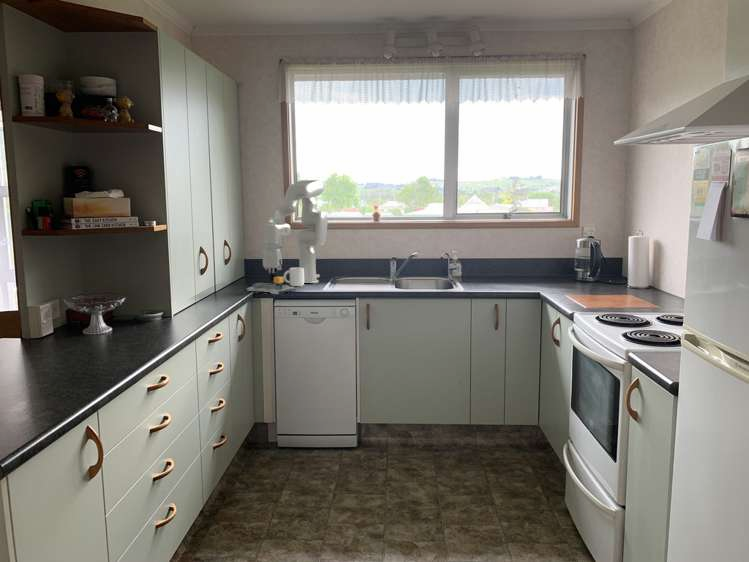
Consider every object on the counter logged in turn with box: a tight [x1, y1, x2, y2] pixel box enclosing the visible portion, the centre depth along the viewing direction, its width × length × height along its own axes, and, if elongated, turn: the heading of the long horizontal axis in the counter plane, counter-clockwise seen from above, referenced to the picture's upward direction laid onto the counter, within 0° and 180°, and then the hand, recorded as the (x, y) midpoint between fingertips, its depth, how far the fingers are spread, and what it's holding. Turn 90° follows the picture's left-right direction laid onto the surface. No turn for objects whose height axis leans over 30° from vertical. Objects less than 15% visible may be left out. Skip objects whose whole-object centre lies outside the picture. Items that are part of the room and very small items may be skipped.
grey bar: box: [279, 287, 297, 295], centre depth 324 cm, size 13×1×1 cm, turn 151°
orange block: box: [273, 276, 285, 286], centre depth 327 cm, size 4×4×6 cm
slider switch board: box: [246, 282, 295, 295], centre depth 330 cm, size 14×21×4 cm, turn 61°
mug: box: [283, 266, 305, 287], centre depth 346 cm, size 12×8×10 cm
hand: (273, 280), depth 328 cm, fingers closed
